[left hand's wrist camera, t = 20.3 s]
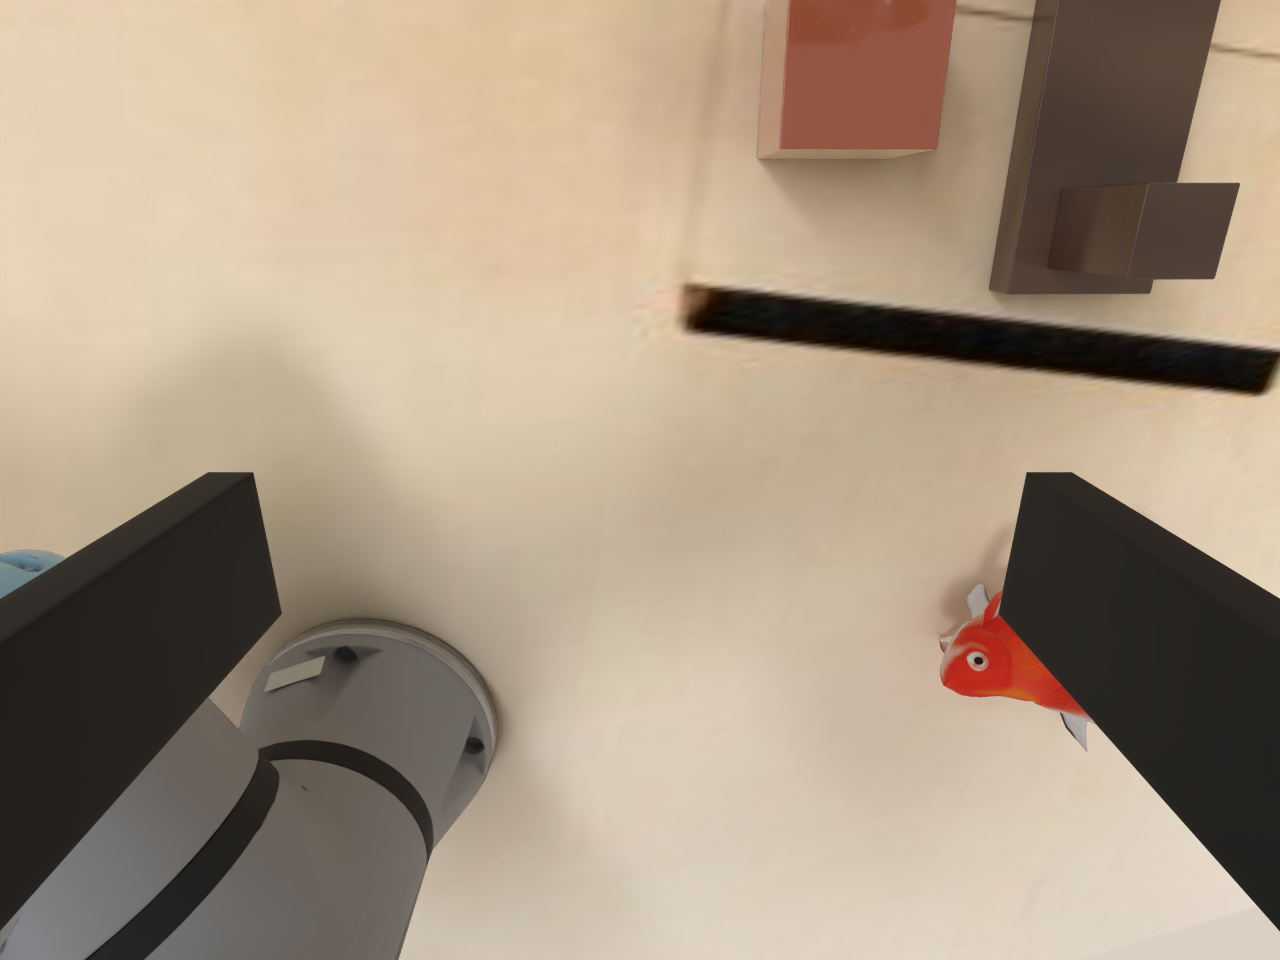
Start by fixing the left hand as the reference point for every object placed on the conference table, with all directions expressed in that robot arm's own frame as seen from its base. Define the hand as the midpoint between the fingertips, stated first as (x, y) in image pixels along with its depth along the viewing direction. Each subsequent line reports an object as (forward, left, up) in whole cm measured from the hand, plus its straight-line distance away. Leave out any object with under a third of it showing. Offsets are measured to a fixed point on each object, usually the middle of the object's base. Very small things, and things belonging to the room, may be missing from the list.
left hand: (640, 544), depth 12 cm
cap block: (+14, +1, -27) cm, 30 cm away
